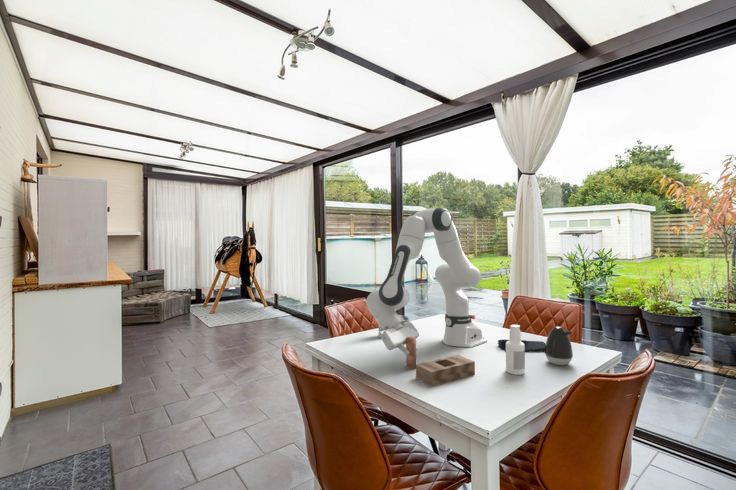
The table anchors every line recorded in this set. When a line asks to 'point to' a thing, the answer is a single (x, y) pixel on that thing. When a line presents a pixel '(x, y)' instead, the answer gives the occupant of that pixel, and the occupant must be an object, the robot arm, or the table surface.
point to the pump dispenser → (558, 347)
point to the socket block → (445, 370)
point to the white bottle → (515, 352)
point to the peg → (412, 356)
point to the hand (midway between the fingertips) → (412, 352)
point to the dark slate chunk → (528, 345)
